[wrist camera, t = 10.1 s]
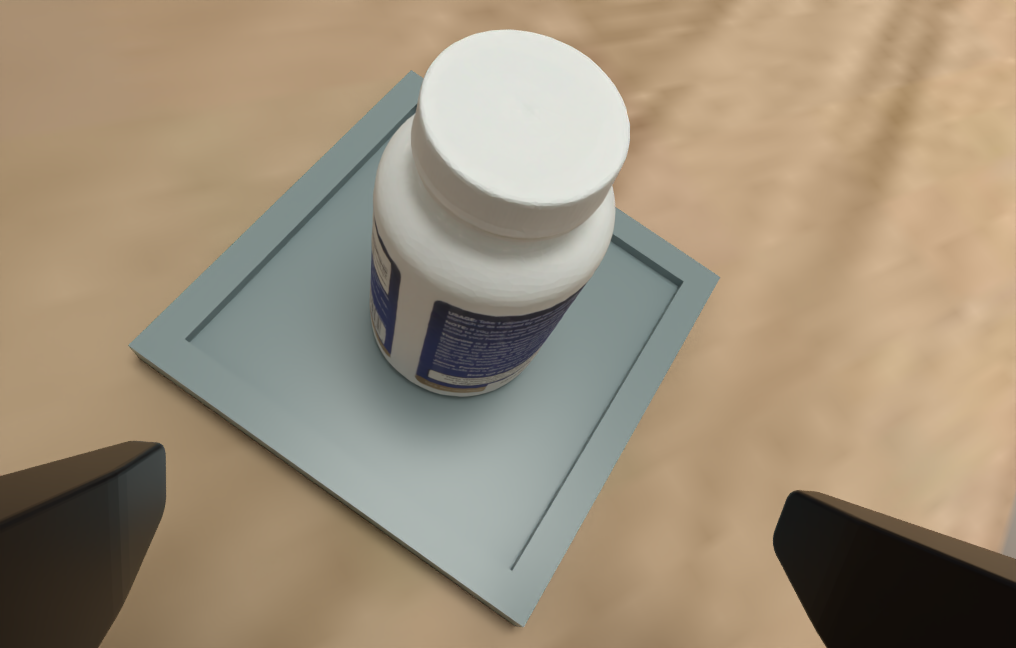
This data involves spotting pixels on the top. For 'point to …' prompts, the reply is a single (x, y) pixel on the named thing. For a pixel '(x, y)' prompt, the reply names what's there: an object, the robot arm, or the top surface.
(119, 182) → the top surface
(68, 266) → the top surface
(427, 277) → the pill bottle
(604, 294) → the tray
